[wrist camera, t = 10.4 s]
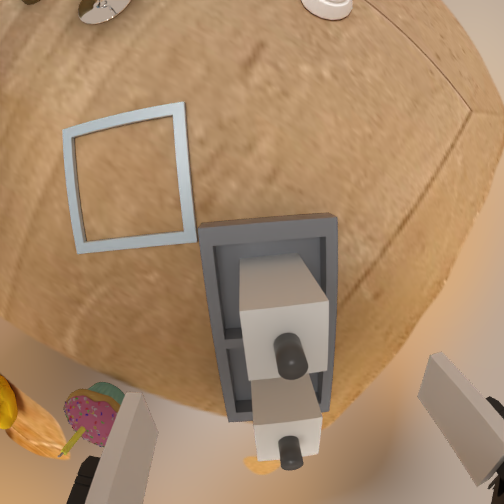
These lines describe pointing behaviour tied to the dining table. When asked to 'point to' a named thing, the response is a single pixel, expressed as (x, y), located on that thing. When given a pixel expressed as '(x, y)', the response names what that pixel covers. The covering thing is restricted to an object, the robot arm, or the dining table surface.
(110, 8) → the wineglass
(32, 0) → the cork
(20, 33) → the dining table surface
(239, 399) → the two-slot grey rack
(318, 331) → the white block with peg
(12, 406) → the duckling
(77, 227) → the square frame
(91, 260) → the dining table surface
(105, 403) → the cupcake
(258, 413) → the white plug
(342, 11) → the white short tapered ring
